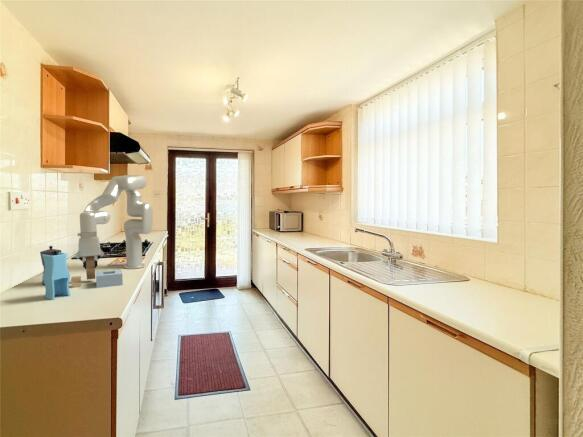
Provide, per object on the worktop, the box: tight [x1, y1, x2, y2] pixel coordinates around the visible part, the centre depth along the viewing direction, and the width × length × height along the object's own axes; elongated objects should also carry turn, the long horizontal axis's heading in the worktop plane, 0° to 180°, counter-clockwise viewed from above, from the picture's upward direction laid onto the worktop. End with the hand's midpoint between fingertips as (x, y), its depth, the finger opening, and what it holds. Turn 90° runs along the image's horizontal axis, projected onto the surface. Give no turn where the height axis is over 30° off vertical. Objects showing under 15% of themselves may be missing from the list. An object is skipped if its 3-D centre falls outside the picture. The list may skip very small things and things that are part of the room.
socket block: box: [95, 268, 124, 289], centre depth 182 cm, size 12×12×6 cm
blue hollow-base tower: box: [42, 251, 71, 301], centre depth 158 cm, size 8×8×20 cm
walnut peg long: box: [85, 256, 96, 281], centre depth 186 cm, size 4×4×12 cm
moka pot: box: [39, 245, 62, 285], centre depth 181 cm, size 10×15×20 cm, turn 55°
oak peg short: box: [70, 275, 82, 289], centre depth 176 cm, size 4×4×5 cm
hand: (90, 267), depth 186 cm, fingers closed on walnut peg long, 4 cm apart
